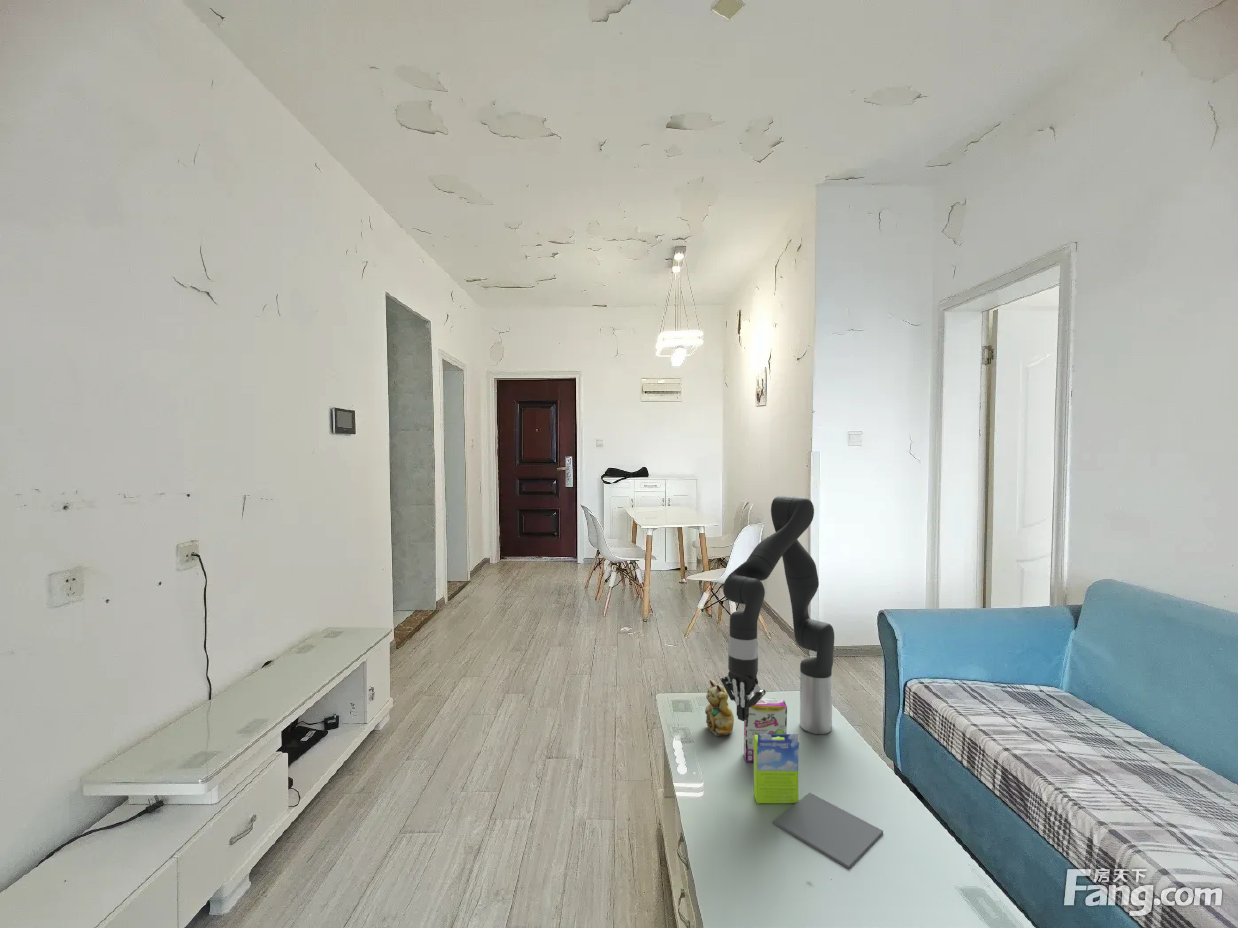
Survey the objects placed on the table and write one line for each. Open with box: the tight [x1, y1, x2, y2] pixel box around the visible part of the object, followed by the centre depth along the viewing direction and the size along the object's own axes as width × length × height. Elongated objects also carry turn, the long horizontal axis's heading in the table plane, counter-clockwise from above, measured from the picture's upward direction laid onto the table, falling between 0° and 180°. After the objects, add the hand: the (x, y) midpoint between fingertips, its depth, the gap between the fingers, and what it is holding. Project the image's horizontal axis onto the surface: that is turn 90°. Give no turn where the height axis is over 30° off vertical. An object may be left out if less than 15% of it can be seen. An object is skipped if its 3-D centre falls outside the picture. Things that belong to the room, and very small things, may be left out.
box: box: [753, 733, 800, 804], centre depth 133 cm, size 10×4×17 cm, turn 90°
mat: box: [772, 792, 884, 869], centre depth 123 cm, size 16×18×1 cm
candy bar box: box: [743, 696, 788, 763], centre depth 151 cm, size 11×5×16 cm, turn 84°
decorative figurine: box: [704, 679, 735, 737], centre depth 166 cm, size 10×8×15 cm
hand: (742, 719), depth 140 cm, fingers closed
